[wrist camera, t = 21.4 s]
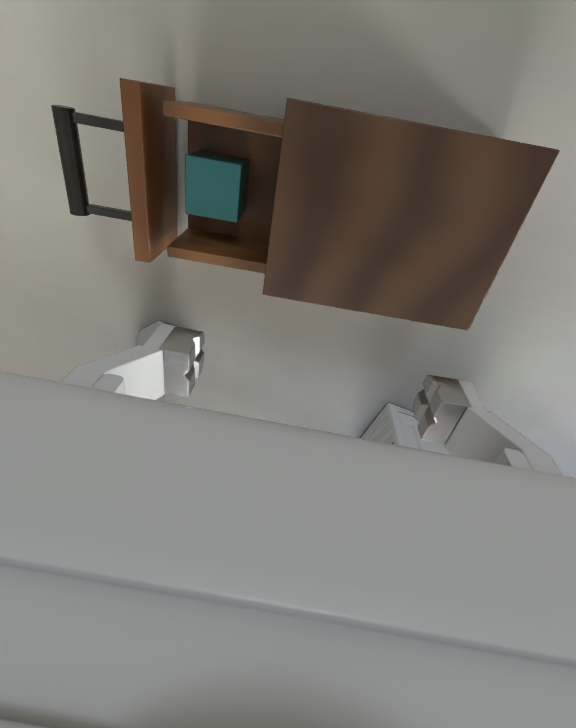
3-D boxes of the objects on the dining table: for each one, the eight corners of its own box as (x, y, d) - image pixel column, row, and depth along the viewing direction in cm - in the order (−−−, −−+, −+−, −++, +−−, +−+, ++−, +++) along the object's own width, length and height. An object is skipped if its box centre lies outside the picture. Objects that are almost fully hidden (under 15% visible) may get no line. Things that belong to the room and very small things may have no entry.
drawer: (103, 225, 34) (61, 247, 28) (83, 70, 28) (24, 59, 22) (327, 265, 35) (329, 294, 29) (359, 123, 28) (369, 125, 23)
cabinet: (273, 258, 36) (262, 294, 29) (294, 100, 28) (287, 97, 21) (439, 287, 36) (468, 330, 29) (501, 140, 29) (560, 150, 22)
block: (200, 149, 29) (185, 154, 26) (250, 159, 29) (241, 164, 26) (199, 203, 31) (185, 213, 28) (245, 211, 31) (237, 223, 28)
